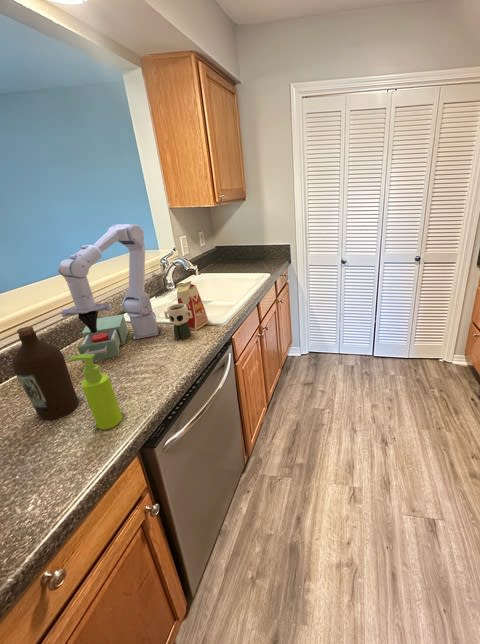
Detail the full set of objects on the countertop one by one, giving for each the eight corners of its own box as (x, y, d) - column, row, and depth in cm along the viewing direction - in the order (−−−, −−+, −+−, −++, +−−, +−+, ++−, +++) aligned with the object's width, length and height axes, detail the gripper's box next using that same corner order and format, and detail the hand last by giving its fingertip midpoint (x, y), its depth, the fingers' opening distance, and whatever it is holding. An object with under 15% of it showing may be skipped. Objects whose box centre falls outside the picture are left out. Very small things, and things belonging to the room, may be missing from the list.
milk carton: (209, 321, 143) (201, 278, 135) (196, 330, 135) (187, 284, 127) (191, 319, 146) (183, 277, 138) (178, 328, 138) (168, 283, 130)
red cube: (112, 343, 123) (108, 331, 121) (110, 349, 118) (106, 337, 116) (97, 346, 121) (92, 334, 119) (94, 352, 117) (90, 340, 115)
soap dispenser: (99, 415, 87) (75, 351, 79) (126, 413, 88) (104, 348, 80) (88, 430, 82) (61, 363, 74) (116, 428, 83) (92, 360, 74)
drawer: (117, 361, 112) (112, 346, 110) (80, 369, 109) (74, 353, 106) (123, 341, 127) (118, 327, 125) (90, 347, 124) (85, 333, 121)
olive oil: (65, 394, 97) (33, 318, 87) (89, 401, 94) (59, 322, 84) (27, 417, 88) (-13, 335, 78) (52, 425, 85) (14, 341, 75)
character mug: (166, 341, 127) (159, 310, 122) (173, 333, 134) (166, 303, 129) (193, 340, 127) (187, 309, 122) (199, 332, 133) (193, 303, 128)
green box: (124, 344, 126) (119, 326, 123) (88, 351, 122) (81, 333, 119) (128, 331, 138) (123, 314, 135) (95, 336, 134) (89, 319, 131)
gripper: (53, 302, 102) (67, 340, 107) (104, 295, 106) (115, 332, 112) (59, 295, 108) (72, 332, 113) (107, 289, 112) (118, 324, 118)
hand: (94, 331), depth 113 cm, fingers closed
